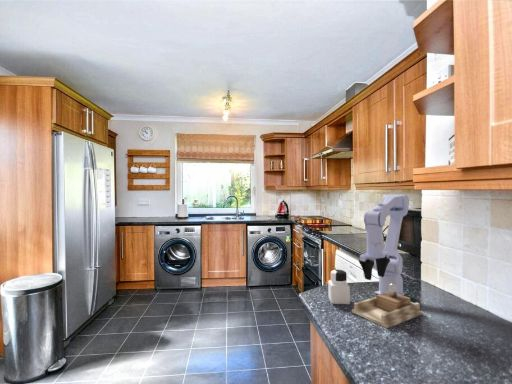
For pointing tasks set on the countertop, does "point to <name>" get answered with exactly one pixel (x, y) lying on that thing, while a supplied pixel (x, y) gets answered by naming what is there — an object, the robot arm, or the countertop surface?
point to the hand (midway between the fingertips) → (374, 277)
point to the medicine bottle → (338, 288)
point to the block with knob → (392, 299)
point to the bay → (385, 312)
